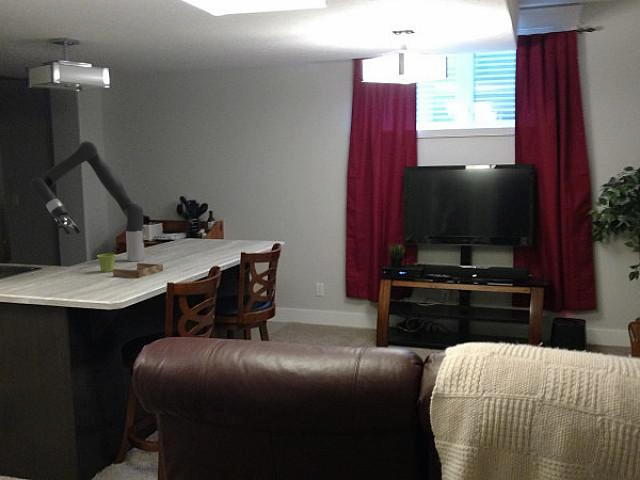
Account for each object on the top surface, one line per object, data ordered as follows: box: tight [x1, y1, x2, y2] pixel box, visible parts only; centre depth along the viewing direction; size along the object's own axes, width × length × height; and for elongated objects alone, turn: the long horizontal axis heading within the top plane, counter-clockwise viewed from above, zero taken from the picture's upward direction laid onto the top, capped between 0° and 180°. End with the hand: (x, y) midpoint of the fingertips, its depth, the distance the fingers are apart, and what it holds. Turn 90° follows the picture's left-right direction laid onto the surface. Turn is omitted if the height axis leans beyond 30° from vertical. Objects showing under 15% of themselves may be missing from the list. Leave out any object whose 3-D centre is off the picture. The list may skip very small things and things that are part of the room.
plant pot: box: [96, 253, 117, 273], centre depth 320 cm, size 9×9×9 cm
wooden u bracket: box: [112, 262, 164, 279], centre depth 313 cm, size 20×15×4 cm
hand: (74, 233), depth 325 cm, fingers open, 8 cm apart
